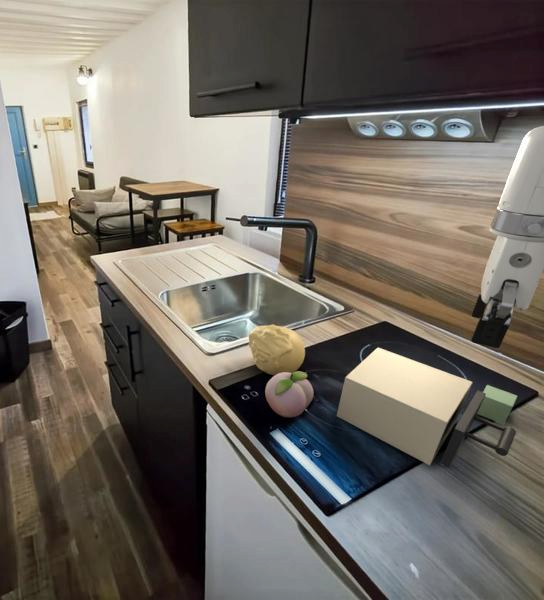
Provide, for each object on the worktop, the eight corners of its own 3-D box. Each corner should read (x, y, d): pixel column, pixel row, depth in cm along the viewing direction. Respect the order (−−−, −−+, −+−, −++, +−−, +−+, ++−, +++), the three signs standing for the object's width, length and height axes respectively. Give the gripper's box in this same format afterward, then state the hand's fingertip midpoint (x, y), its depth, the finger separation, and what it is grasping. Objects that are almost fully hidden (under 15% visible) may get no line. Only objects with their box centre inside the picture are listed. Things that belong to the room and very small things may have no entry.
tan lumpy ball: (239, 360, 90) (242, 323, 86) (279, 349, 94) (283, 312, 89) (269, 388, 81) (274, 347, 76) (312, 373, 84) (319, 334, 80)
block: (508, 413, 70) (517, 395, 68) (503, 424, 68) (512, 406, 66) (479, 402, 74) (487, 384, 72) (473, 412, 71) (481, 394, 69)
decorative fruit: (277, 392, 79) (282, 354, 75) (315, 411, 74) (322, 371, 69) (254, 415, 74) (258, 375, 69) (292, 437, 68) (299, 395, 64)
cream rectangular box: (455, 422, 69) (472, 381, 65) (429, 465, 61) (447, 422, 57) (367, 383, 80) (377, 347, 76) (336, 416, 72) (345, 377, 68)
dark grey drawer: (509, 443, 63) (527, 408, 60) (490, 489, 56) (509, 453, 52) (384, 388, 77) (393, 358, 74) (355, 420, 70) (364, 387, 66)
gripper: (581, 244, 42) (521, 365, 49) (557, 214, 54) (512, 315, 61) (494, 235, 46) (451, 348, 54) (490, 209, 58) (455, 304, 66)
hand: (483, 330), depth 57 cm, fingers open, 9 cm apart
